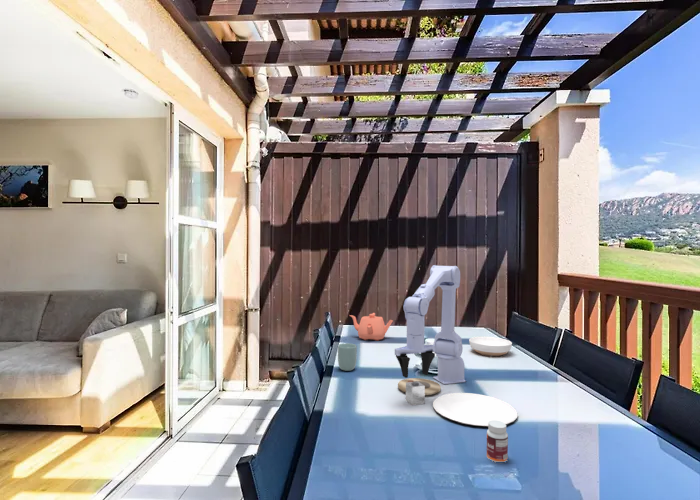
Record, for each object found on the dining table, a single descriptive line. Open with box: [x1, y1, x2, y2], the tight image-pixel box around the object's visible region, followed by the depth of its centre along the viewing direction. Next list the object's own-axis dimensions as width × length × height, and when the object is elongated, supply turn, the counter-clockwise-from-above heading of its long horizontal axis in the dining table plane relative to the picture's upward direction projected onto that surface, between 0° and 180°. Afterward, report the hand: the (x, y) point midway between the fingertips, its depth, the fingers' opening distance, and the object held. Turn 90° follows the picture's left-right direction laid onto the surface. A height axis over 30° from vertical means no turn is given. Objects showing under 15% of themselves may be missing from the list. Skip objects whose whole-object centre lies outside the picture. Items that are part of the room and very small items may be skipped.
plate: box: [432, 392, 518, 428], centre depth 121 cm, size 25×25×2 cm
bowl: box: [468, 336, 513, 357], centre depth 190 cm, size 20×20×6 cm
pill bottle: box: [486, 420, 509, 463], centre depth 94 cm, size 5×5×8 cm
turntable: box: [397, 377, 442, 396], centre depth 140 cm, size 15×15×4 cm
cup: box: [337, 342, 358, 372], centre depth 163 cm, size 8×8×10 cm
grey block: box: [405, 381, 426, 406], centre depth 128 cm, size 4×4×6 cm
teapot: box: [348, 312, 394, 342], centre depth 219 cm, size 18×18×14 cm
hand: (415, 375), depth 128 cm, fingers open, 7 cm apart
